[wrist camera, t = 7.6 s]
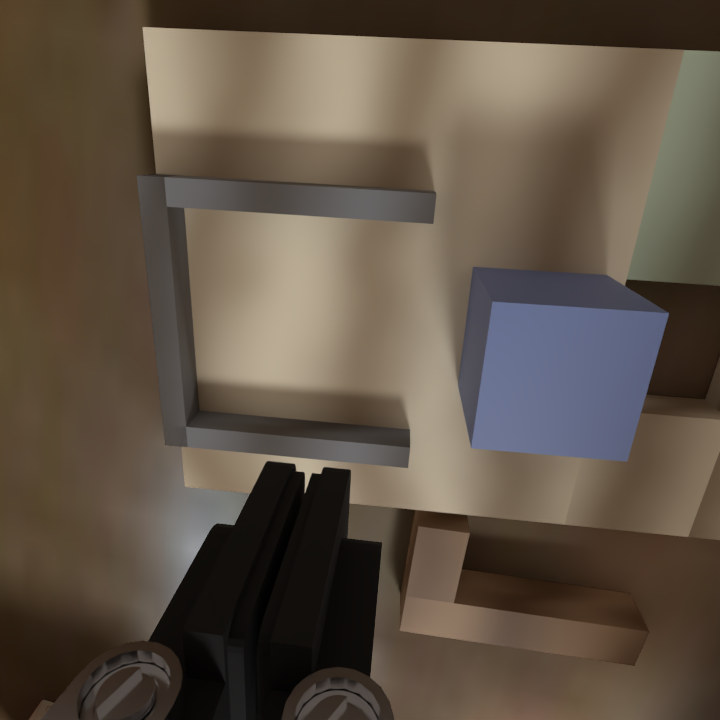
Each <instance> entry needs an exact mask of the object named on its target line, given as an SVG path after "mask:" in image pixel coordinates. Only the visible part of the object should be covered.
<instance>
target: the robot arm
mask: <svg viewBox="0 0 720 720" xmlns="http://www.w3.org/2000/svg"><path fill="white" fill-rule="evenodd" d="M350 485H351V470H349V469H340V468H331V467H323V469H322V472H321V474H317V473H312V474H311V477H310V480H309V483H308V486H307V489H306V492H305V473H304V472H299V471H296V466H295V464H293V463H284V462H274V461H267V462H266V463H265V465H264V467H263V469H262V471H261V473H260V475H259V477H258V479H257V481H256V483H255V485H254V487H253V489H252V491H251V493H250V495H249V497H248V499H247V501H246V503H245V505H244V507H243V509H242V511H241V513H240V515H239V517H238V519H237V521H236V523H235V525H226V524H218V523H217V524H216V525H214V526H213V527H212V529H211V530H210V532H209V534H208V535H207V537H206V539H205V541H204V543H203V544H202V546H201V548H200V550H199V551H198V553H197V555H196V557H195V559H194V560H193V562H192V564H191V566H190V568H189V569H188V571H187V573H186V575H185V577H184V578H183V580H182V582H181V584H180V585H179V587H178V589H177V591H176V593H175V594H174V596H173V598H172V600H171V602H170V603H169V605H168V607H167V609H166V611H165V612H164V614H163V616H162V618H161V619H160V621H159V623H158V625H157V627H156V628H155V630H154V632H153V634H152V636H151V637H150V639H149V641H138V642H131V643H125V644H123V645H120V646H117V647H115V648H112V649H110V650H108V651H106V652H105V653H103V654H101V655H100V656H98V657H97V658H95V659H94V660H92V661H91V662H90V663H89V664H88V665H87V666H86V667H85V668H84V669H83V670H82V671H81V672H80V673H79V674H78V675H77V676H76V677H75V679H74V680H73V681H72V682H71V683H70V685H69V686H68V687H67V688H66V689H65V691H64V692H63V693H62V694H61V695H60V697H59V698H58V699H57V700H56V701H55V703H54V704H53V705H52V706H51V707H50V709H49V710H48V711H47V712H46V713H45V715H44V716H43V717H42V718H41V719H40V720H394V716H393V712H392V709H391V705H390V701H389V700H388V698H387V696H386V695H385V693H384V691H383V690H382V688H381V687H380V686H379V685H378V684H377V683H376V682H375V681H373V680H372V679H371V678H370V672H371V661H372V650H373V638H374V627H375V616H376V604H377V593H378V582H379V570H380V559H381V548H382V543H381V542H373V541H364V540H355V539H347V535H348V518H349V501H350Z"/></svg>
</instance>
